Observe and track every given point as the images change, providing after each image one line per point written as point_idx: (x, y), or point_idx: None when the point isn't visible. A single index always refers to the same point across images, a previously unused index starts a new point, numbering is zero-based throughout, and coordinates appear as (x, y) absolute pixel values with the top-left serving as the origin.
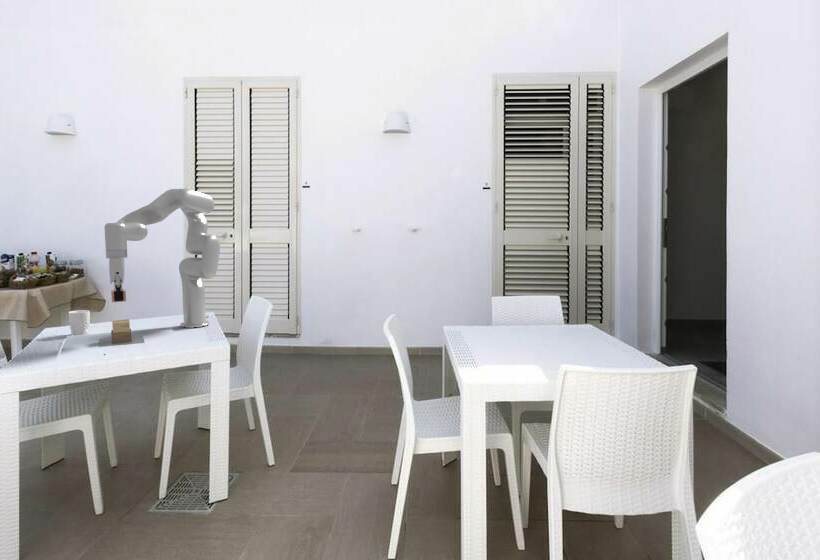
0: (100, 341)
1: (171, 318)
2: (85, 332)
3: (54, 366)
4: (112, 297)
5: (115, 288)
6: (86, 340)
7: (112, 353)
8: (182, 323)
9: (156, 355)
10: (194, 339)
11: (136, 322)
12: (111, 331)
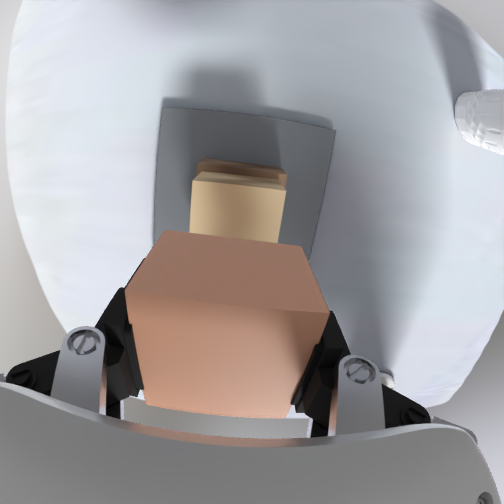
0: (273, 122)
1: (469, 352)
2: (462, 125)
3: (35, 29)
4: (148, 260)
5: (64, 361)
6: (375, 96)
7: (83, 154)
8: (381, 380)
9: (32, 261)
10: None
11: (497, 285)
12: (247, 169)
